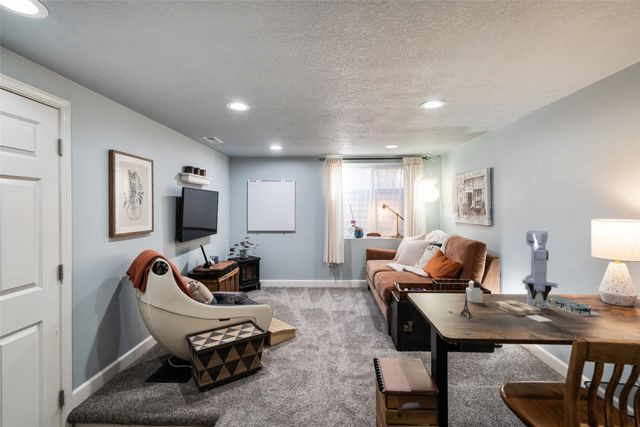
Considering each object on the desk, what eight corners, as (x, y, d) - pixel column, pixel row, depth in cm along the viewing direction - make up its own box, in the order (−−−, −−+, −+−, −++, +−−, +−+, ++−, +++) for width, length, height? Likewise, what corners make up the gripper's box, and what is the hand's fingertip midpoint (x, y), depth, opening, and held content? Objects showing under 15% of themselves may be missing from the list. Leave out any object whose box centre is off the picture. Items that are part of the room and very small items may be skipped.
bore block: (515, 304, 177) (515, 300, 177) (540, 314, 161) (540, 309, 161) (492, 305, 173) (492, 301, 173) (515, 315, 158) (515, 310, 158)
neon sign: (623, 306, 164) (578, 308, 159) (623, 314, 164) (578, 316, 159) (583, 295, 185) (542, 297, 180) (583, 302, 185) (542, 304, 180)
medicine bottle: (477, 299, 186) (478, 280, 185) (482, 303, 179) (483, 283, 178) (465, 298, 186) (466, 279, 186) (470, 302, 179) (470, 282, 179)
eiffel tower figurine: (446, 312, 163) (447, 287, 162) (461, 310, 166) (462, 286, 166) (468, 322, 149) (469, 295, 148) (484, 320, 152) (484, 294, 152)
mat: (537, 315, 158) (537, 314, 158) (552, 321, 150) (552, 320, 150) (525, 316, 157) (525, 315, 157) (539, 322, 149) (539, 321, 149)
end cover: (537, 304, 156) (538, 289, 156) (546, 307, 152) (546, 291, 152) (531, 305, 155) (532, 289, 155) (539, 307, 151) (540, 292, 151)
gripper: (522, 272, 154) (522, 298, 154) (558, 276, 146) (557, 304, 146) (522, 270, 160) (521, 295, 160) (557, 273, 152) (556, 300, 152)
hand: (538, 299), depth 153 cm, fingers closed on end cover, 4 cm apart
